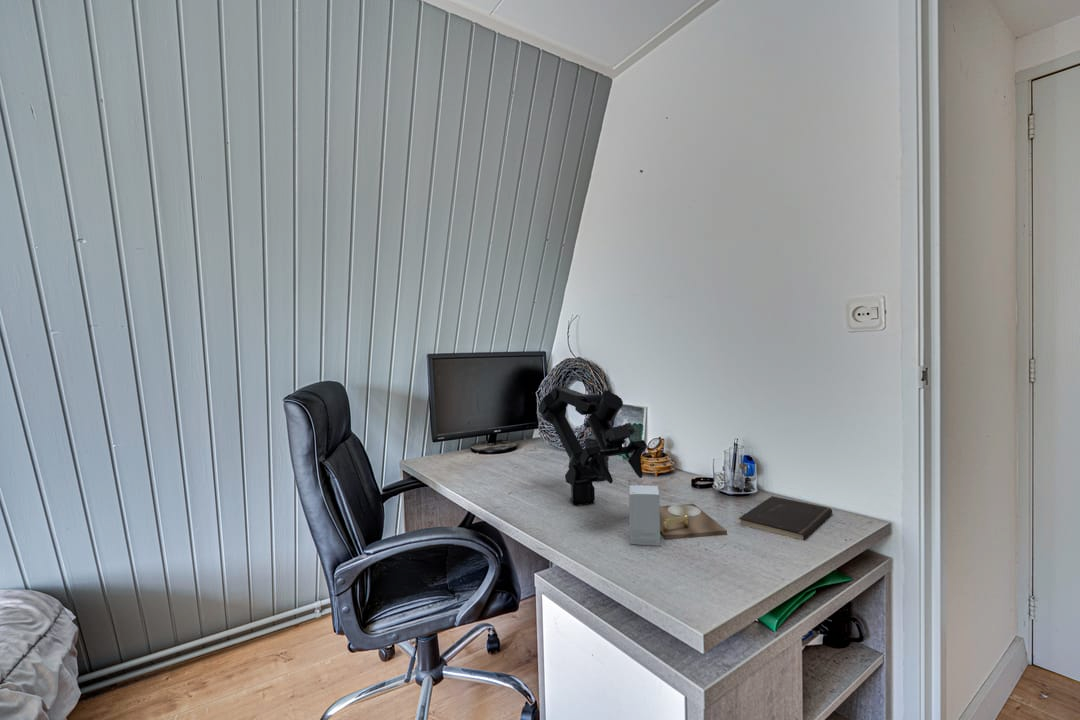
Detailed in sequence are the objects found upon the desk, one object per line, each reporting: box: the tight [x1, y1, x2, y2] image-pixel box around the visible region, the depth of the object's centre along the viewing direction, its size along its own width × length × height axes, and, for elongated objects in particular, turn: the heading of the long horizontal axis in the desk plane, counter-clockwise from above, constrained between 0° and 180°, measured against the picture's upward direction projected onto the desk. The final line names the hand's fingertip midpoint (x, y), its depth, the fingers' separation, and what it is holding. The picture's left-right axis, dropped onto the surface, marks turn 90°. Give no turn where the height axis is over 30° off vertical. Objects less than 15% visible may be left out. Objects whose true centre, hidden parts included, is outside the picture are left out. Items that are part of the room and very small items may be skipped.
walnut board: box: [660, 503, 728, 540], centre depth 132 cm, size 16×20×1 cm
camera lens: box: [584, 434, 610, 482], centre depth 174 cm, size 8×8×15 cm
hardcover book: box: [738, 495, 833, 541], centre depth 132 cm, size 16×23×2 cm
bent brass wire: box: [663, 508, 689, 532], centre depth 127 cm, size 12×4×3 cm, turn 137°
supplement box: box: [628, 484, 661, 547], centre depth 122 cm, size 7×7×13 cm
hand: (626, 479), depth 128 cm, fingers open, 9 cm apart
